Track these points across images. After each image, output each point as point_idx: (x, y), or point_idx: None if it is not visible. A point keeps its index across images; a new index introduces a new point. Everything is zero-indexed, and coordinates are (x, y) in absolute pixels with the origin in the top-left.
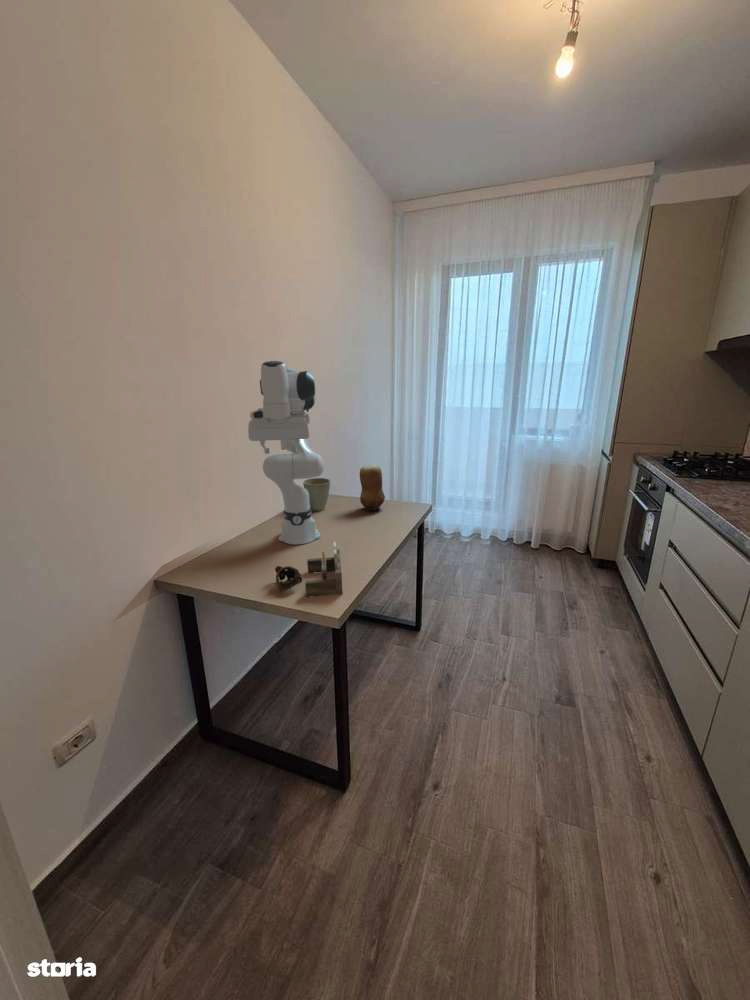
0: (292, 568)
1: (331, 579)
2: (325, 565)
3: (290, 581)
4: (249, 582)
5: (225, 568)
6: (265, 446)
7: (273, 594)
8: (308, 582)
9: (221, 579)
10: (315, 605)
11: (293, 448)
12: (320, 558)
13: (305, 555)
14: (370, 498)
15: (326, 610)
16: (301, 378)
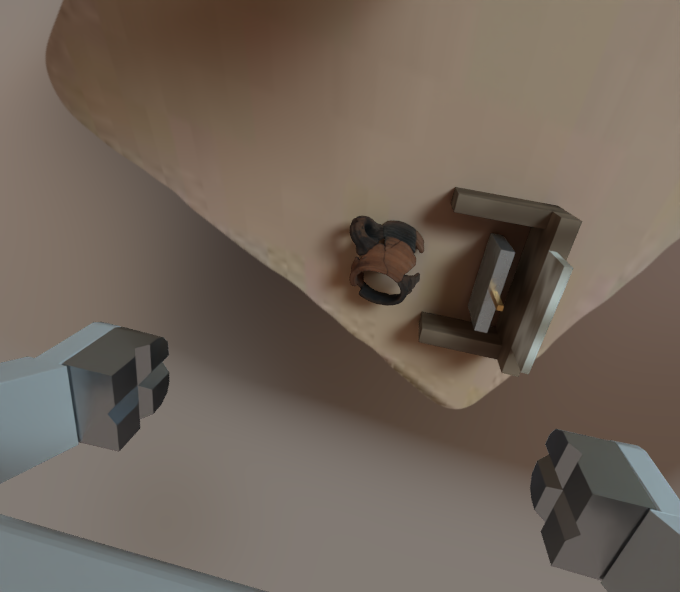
0: (396, 281)
1: (489, 347)
2: (492, 312)
3: (385, 304)
4: (285, 199)
5: (205, 73)
6: (26, 408)
7: (345, 284)
8: (427, 339)
9: (209, 153)
10: (431, 362)
11: (567, 555)
12: (502, 205)
13: (476, 46)
14: None
15: (448, 386)
16: None
